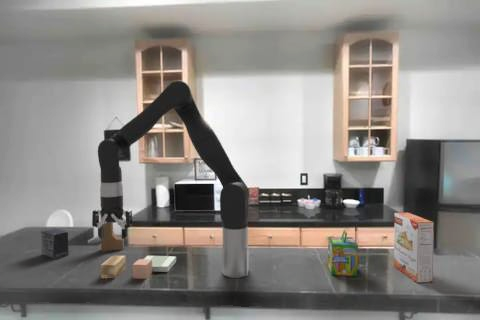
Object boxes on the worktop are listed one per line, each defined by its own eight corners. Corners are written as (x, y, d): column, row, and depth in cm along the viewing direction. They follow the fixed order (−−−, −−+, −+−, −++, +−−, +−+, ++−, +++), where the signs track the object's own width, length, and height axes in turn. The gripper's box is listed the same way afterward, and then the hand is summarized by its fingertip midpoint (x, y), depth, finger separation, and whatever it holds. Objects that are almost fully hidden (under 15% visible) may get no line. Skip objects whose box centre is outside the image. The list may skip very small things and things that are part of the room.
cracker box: (392, 266, 114) (393, 212, 113) (408, 266, 114) (409, 211, 113) (415, 283, 100) (417, 221, 99) (433, 283, 100) (435, 221, 99)
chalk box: (327, 265, 116) (327, 227, 115) (352, 266, 114) (352, 228, 114) (331, 275, 107) (331, 234, 106) (358, 277, 105) (358, 235, 105)
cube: (152, 272, 110) (152, 259, 110) (146, 278, 105) (146, 265, 105) (139, 272, 111) (138, 259, 110) (133, 278, 106) (132, 264, 105)
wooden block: (124, 246, 139) (123, 208, 138) (123, 249, 134) (122, 210, 133) (103, 248, 136) (101, 209, 135) (101, 251, 132) (100, 211, 131)
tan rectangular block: (125, 268, 114) (125, 255, 114) (115, 279, 105) (114, 265, 105) (112, 268, 115) (112, 255, 114) (101, 278, 106) (100, 265, 105)
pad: (176, 261, 120) (176, 256, 120) (167, 272, 110) (167, 267, 110) (147, 260, 122) (147, 255, 122) (135, 271, 111) (135, 265, 111)
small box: (70, 255, 128) (69, 231, 128) (53, 260, 123) (52, 235, 122) (57, 250, 134) (56, 227, 133) (41, 255, 129) (40, 231, 128)
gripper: (135, 192, 112) (136, 235, 112) (99, 192, 113) (100, 234, 114) (125, 196, 104) (126, 242, 105) (86, 195, 106) (88, 241, 106)
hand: (112, 238), depth 109 cm, fingers open, 8 cm apart
